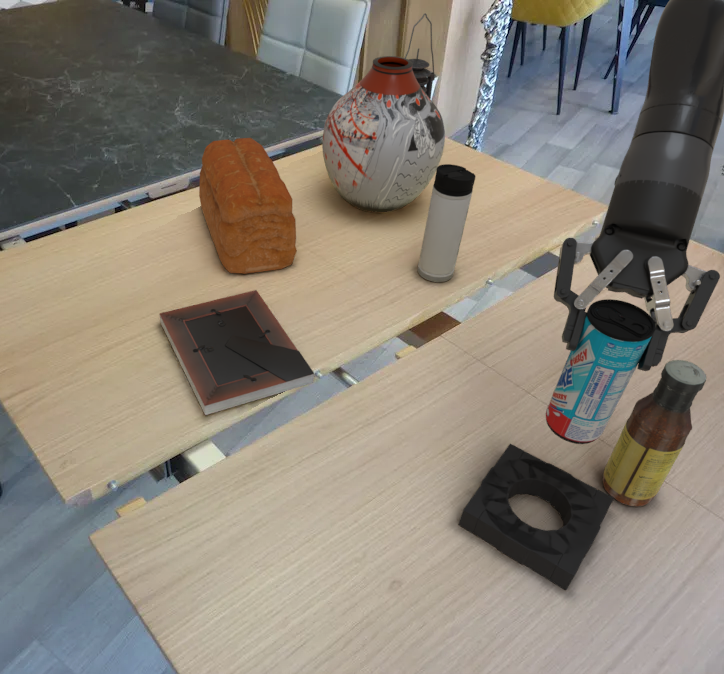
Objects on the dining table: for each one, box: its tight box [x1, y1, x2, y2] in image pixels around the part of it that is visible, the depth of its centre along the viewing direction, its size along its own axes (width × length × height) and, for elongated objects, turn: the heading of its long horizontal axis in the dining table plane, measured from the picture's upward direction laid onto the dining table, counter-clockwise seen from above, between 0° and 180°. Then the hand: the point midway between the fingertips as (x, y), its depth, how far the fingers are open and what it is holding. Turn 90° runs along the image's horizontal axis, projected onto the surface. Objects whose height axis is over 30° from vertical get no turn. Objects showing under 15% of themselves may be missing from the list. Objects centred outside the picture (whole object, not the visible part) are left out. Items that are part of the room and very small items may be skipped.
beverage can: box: [545, 298, 655, 445], centre depth 67 cm, size 6×6×15 cm
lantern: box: [404, 13, 436, 100], centre depth 146 cm, size 12×11×30 cm
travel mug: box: [417, 163, 476, 283], centre depth 112 cm, size 6×7×20 cm
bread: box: [198, 137, 298, 275], centre depth 122 cm, size 14×27×15 cm, turn 15°
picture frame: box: [158, 289, 315, 416], centre depth 100 cm, size 16×2×22 cm
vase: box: [321, 55, 446, 214], centre depth 128 cm, size 23×23×28 cm
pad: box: [458, 443, 615, 591], centre depth 79 cm, size 13×13×3 cm
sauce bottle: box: [602, 359, 707, 508], centre depth 77 cm, size 7×6×20 cm
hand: (606, 358), depth 63 cm, fingers closed on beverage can, 6 cm apart
